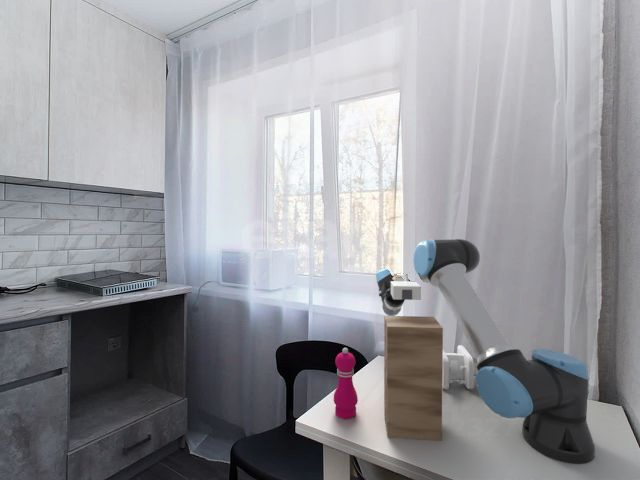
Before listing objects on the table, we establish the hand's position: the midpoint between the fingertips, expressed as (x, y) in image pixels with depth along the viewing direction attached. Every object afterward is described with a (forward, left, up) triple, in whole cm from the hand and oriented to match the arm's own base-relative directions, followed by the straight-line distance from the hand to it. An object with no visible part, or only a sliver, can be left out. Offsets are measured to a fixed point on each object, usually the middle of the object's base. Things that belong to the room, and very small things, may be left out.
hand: (401, 278), depth 111 cm
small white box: (-1, 0, -5) cm, 5 cm away
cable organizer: (-5, -19, -39) cm, 44 cm away
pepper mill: (-2, +24, -39) cm, 45 cm away
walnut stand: (-17, +12, -39) cm, 44 cm away
